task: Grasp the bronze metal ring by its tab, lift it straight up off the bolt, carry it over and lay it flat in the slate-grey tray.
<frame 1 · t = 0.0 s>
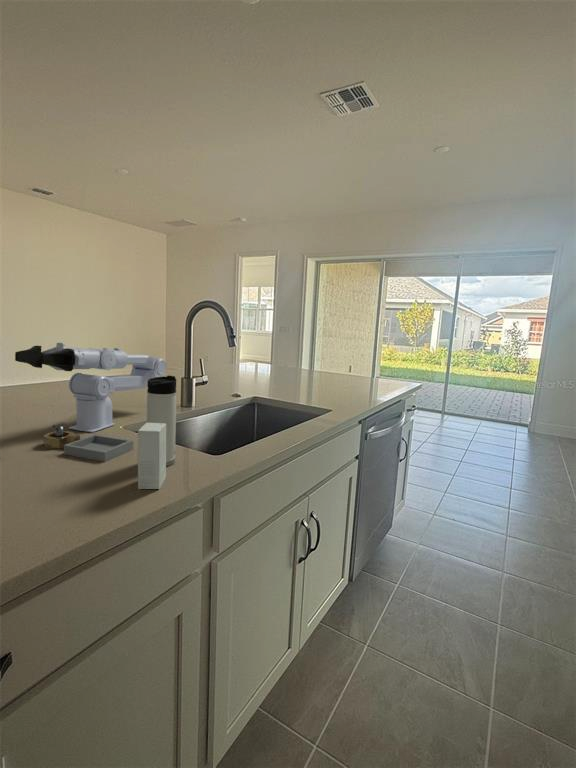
hand: (29, 357, 92), 22 cm above the worktop, tool horizontal, fingers open, 7 cm apart
ring: (59, 444, 99), on the worktop
tray: (99, 451, 96), on the worktop
travel mug: (161, 463, 91), on the worktop
skincare box: (152, 484, 80), on the worktop
bolt: (59, 444, 99), on the worktop
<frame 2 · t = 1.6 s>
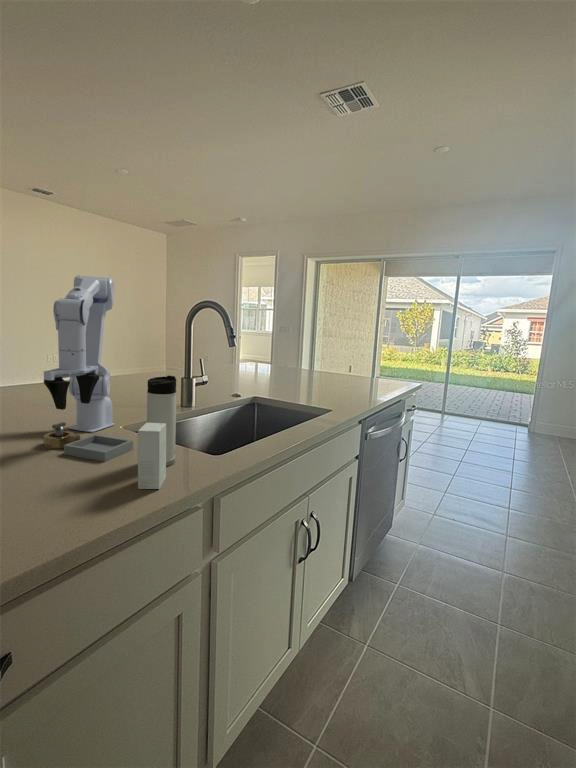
hand: (73, 405, 96), 10 cm above the worktop, tool pointing down, fingers open, 7 cm apart
nothing on the worktop moved.
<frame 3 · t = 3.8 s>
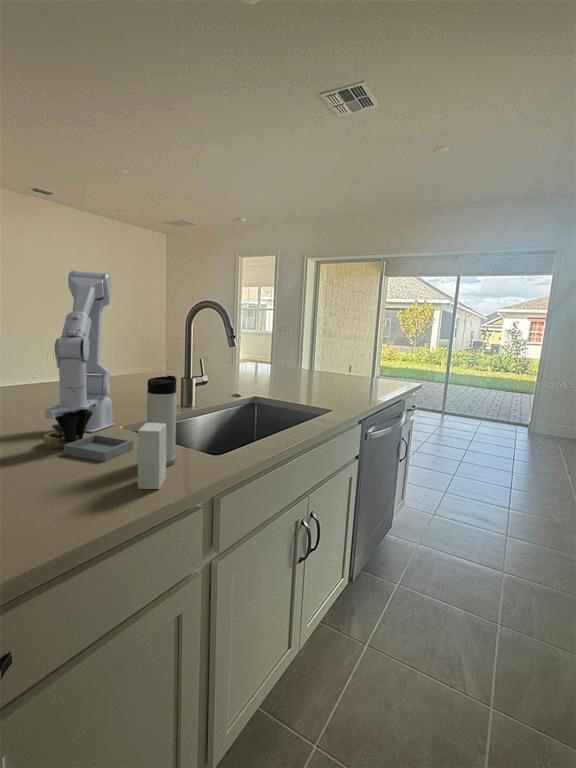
hand: (74, 440, 97), 2 cm above the worktop, tool pointing down, fingers closed on ring, 2 cm apart
ring: (59, 444, 99), on the worktop, touching gripper
everything else where it was.
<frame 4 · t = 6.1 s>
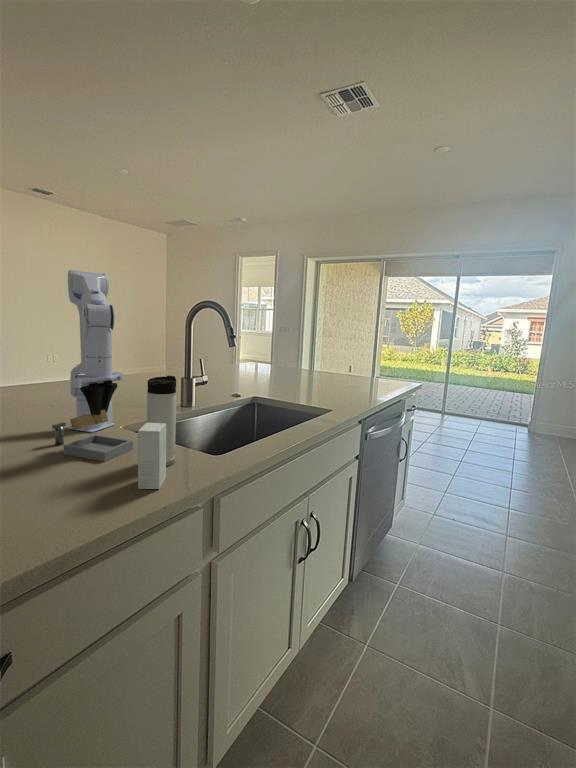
hand: (99, 413, 94), 9 cm above the worktop, tool pointing down, fingers closed on ring
ring: (87, 425, 95), point 6 cm above the worktop, tilted 17°, touching gripper
everything else where it was.
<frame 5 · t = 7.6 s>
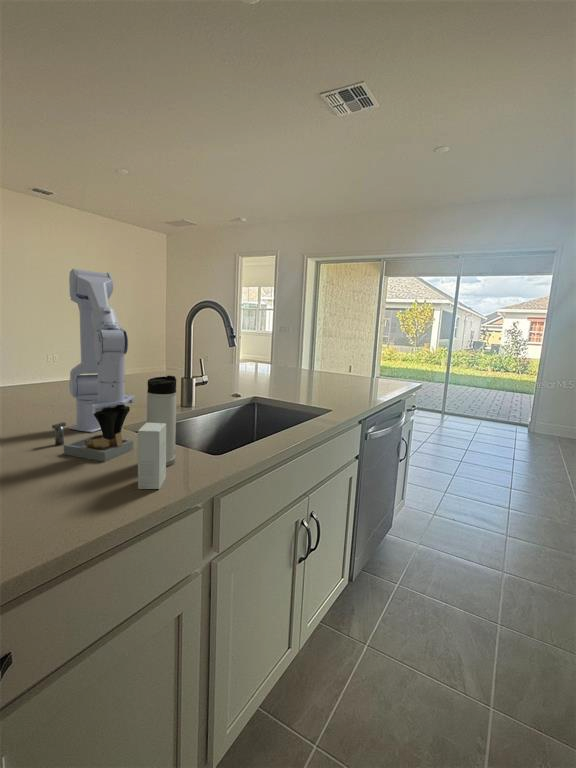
hand: (111, 437, 94), 4 cm above the worktop, tool pointing down, fingers closed on ring, 2 cm apart
ring: (101, 446, 95), point 1 cm above the worktop, tilted 12°, touching gripper, tray
everything else where it was.
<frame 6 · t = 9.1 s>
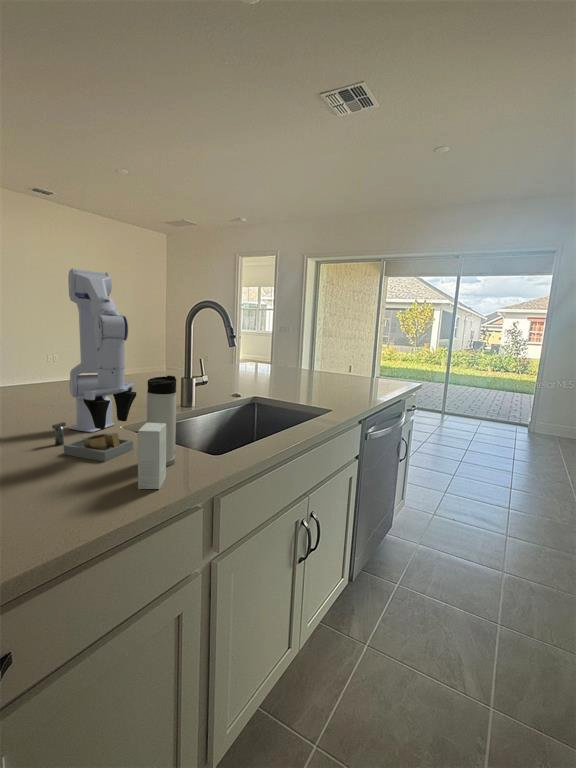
hand: (111, 424, 94), 7 cm above the worktop, tool pointing down, fingers open, 7 cm apart
ring: (99, 446, 95), point 1 cm above the worktop, tilted 11°, touching tray
everything else where it was.
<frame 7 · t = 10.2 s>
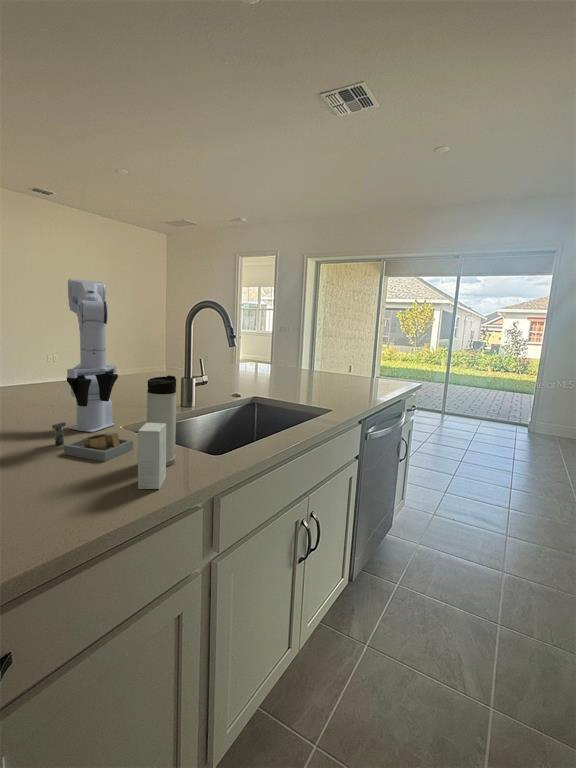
hand: (93, 403, 100), 10 cm above the worktop, tool pointing down, fingers open, 7 cm apart
nothing on the worktop moved.
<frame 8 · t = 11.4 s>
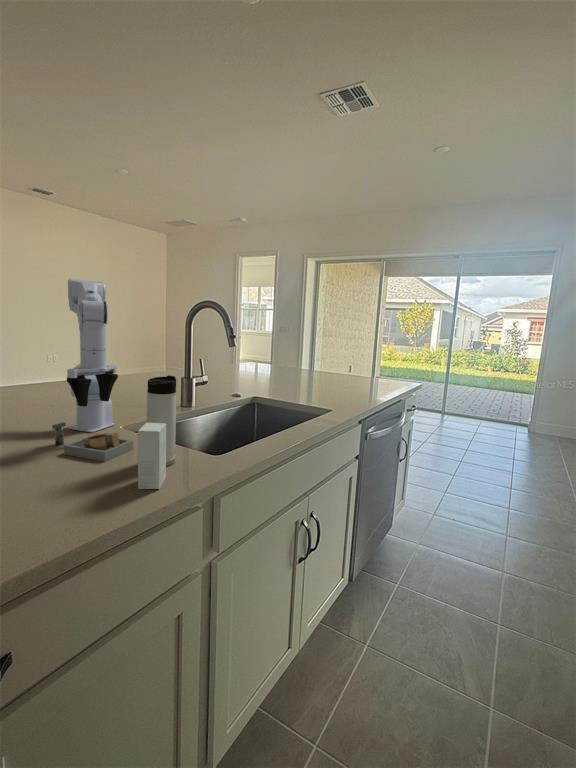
hand: (93, 403, 100), 10 cm above the worktop, tool pointing down, fingers open, 7 cm apart
nothing on the worktop moved.
at the end: ring 1.1 cm from the target spot on the tray, point 1.2 cm above the tray's base; ring tilted 11°; the gripper is holding nothing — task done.
